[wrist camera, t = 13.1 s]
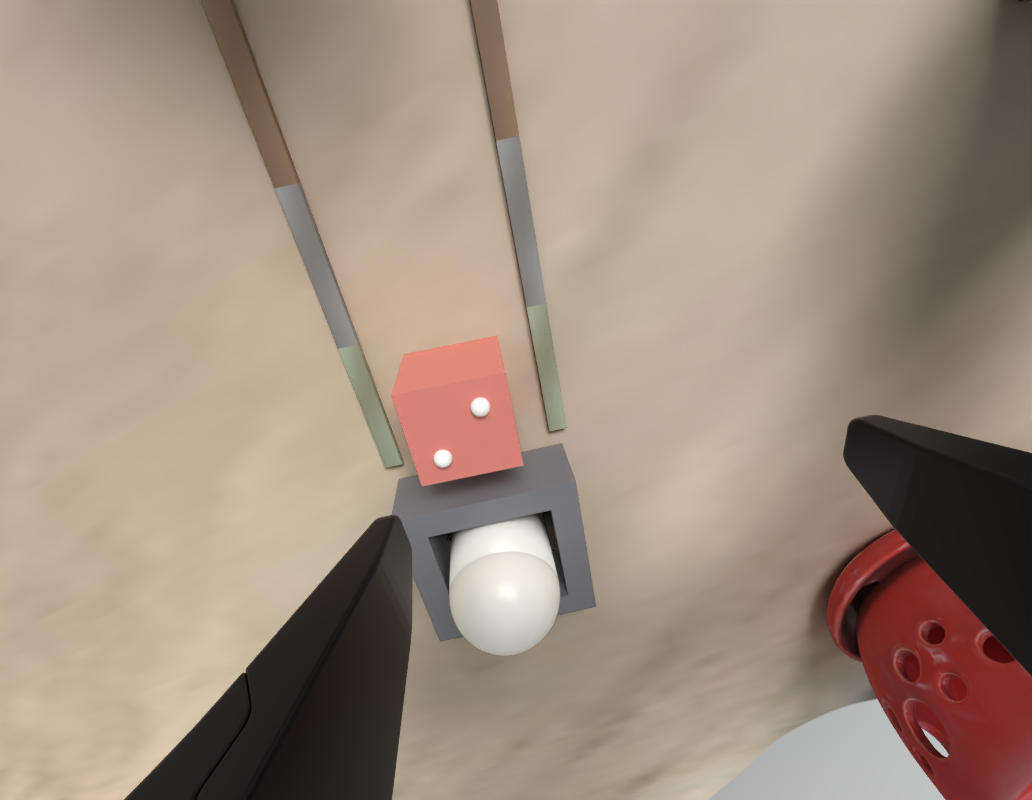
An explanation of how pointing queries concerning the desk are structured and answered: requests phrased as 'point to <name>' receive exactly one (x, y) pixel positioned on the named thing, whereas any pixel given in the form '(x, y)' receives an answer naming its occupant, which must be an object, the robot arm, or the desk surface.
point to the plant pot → (936, 672)
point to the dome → (504, 584)
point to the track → (310, 244)
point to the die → (457, 411)
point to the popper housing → (488, 502)
